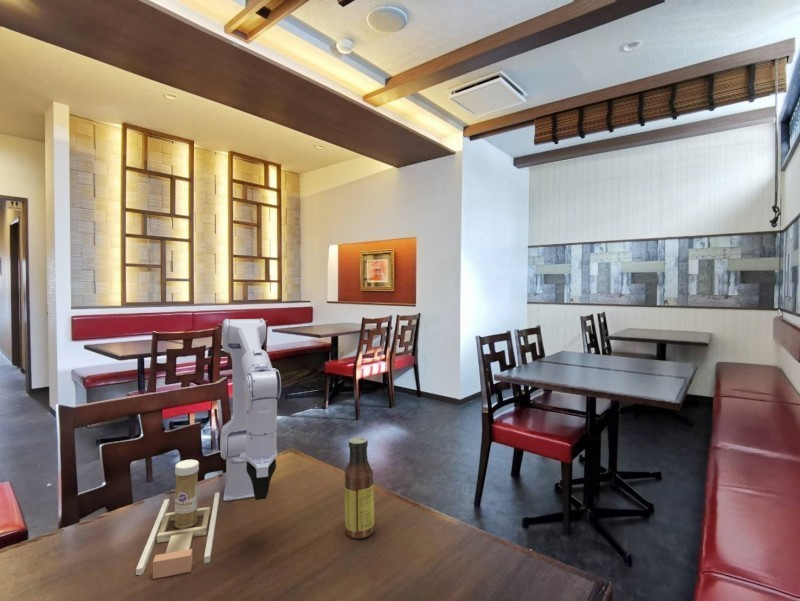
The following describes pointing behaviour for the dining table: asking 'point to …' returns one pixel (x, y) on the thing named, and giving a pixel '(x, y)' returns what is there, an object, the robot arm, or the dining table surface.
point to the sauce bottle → (359, 491)
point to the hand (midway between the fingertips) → (260, 497)
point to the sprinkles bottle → (186, 494)
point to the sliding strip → (178, 546)
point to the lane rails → (156, 529)
